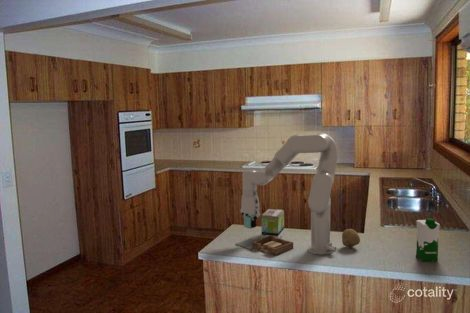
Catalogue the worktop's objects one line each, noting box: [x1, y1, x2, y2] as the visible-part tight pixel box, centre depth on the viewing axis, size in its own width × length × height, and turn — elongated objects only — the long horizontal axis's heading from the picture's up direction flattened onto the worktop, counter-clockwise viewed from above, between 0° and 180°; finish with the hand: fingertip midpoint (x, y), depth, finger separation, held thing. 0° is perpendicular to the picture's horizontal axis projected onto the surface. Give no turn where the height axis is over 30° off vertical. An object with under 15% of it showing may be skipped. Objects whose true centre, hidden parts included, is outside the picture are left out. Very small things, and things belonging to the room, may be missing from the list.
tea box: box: [261, 208, 285, 239], centre depth 230 cm, size 15×10×15 cm, turn 161°
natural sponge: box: [341, 228, 361, 249], centre depth 211 cm, size 9×9×10 cm
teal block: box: [243, 214, 252, 230], centre depth 219 cm, size 4×4×6 cm
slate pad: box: [235, 238, 258, 251], centre depth 220 cm, size 12×12×1 cm
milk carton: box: [415, 217, 441, 262], centre depth 193 cm, size 9×9×20 cm
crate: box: [252, 236, 294, 257], centre depth 213 cm, size 16×14×4 cm
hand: (250, 225), depth 219 cm, fingers closed on teal block, 4 cm apart
